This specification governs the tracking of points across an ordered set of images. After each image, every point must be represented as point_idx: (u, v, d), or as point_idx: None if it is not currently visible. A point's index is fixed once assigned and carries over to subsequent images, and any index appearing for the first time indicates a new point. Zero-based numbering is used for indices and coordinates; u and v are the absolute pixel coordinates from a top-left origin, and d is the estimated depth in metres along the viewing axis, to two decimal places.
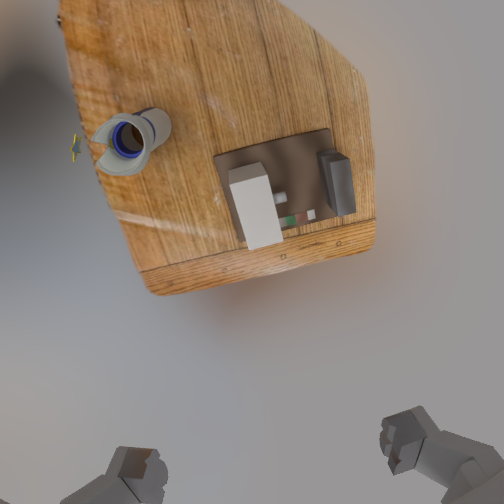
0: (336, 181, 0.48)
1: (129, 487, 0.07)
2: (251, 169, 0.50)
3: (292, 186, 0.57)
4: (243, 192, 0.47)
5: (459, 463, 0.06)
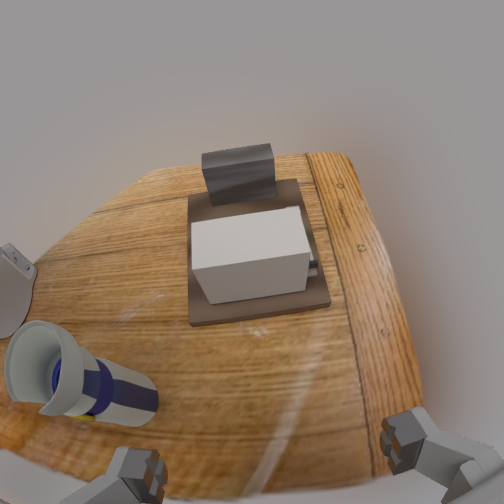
0: (226, 161, 0.41)
1: (129, 487, 0.07)
2: None
3: None
4: (208, 251, 0.31)
5: (459, 463, 0.06)
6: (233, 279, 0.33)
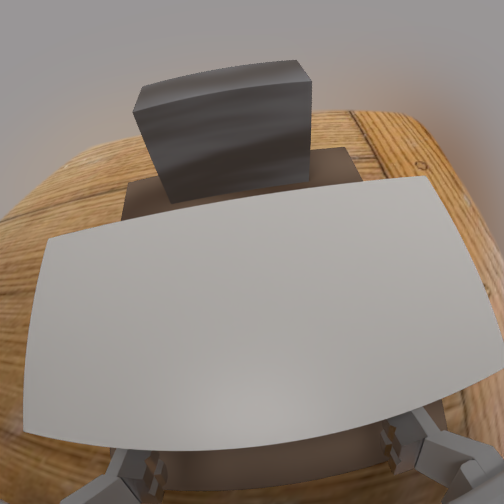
0: (191, 91, 0.15)
1: (129, 487, 0.07)
2: None
3: None
4: (72, 368, 0.06)
5: (459, 463, 0.06)
6: None
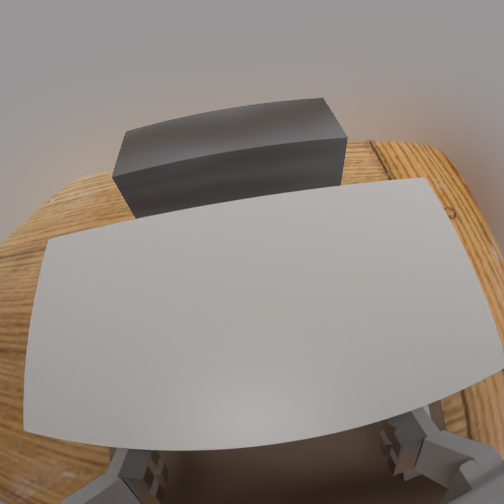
0: (188, 149, 0.12)
1: (129, 487, 0.07)
2: None
3: None
4: (72, 369, 0.06)
5: (459, 463, 0.06)
6: None
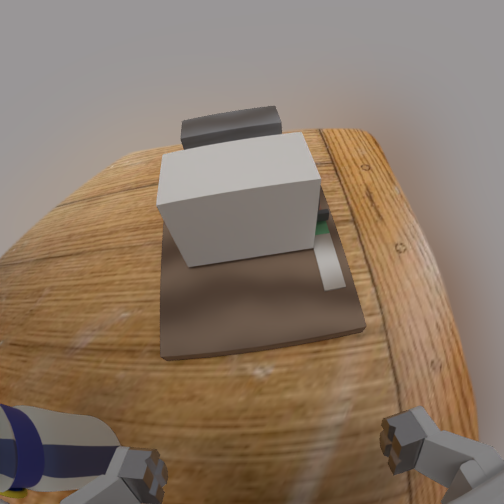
0: (214, 128, 0.28)
1: (129, 487, 0.07)
2: None
3: None
4: (180, 183, 0.22)
5: (459, 463, 0.06)
6: (214, 223, 0.24)
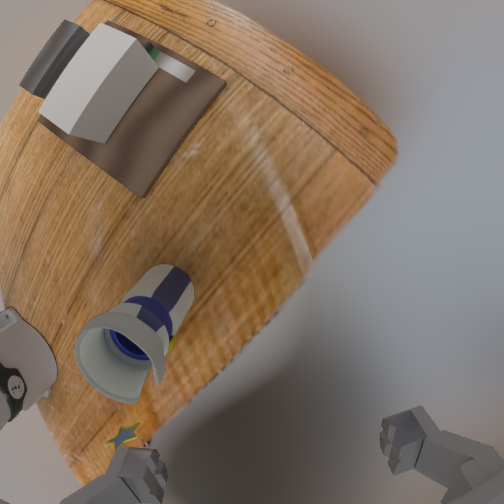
0: (44, 68, 0.24)
1: (129, 487, 0.07)
2: None
3: None
4: (67, 112, 0.25)
5: (459, 463, 0.06)
6: (101, 109, 0.28)
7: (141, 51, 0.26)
